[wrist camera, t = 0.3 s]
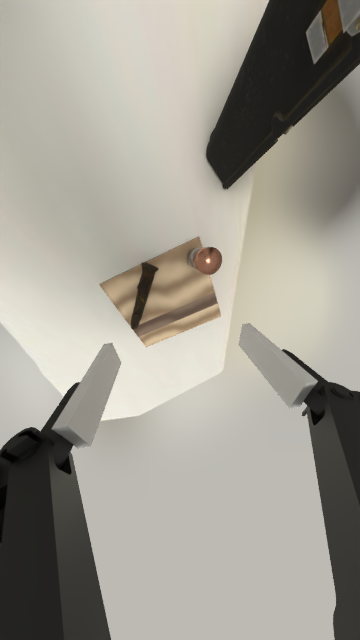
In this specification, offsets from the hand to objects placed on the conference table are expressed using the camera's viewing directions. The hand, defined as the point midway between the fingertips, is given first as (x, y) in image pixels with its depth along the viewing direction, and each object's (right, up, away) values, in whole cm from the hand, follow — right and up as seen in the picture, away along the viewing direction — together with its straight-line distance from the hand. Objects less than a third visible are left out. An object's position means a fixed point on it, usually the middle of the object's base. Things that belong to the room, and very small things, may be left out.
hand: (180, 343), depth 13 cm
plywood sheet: (-4, +8, +25) cm, 26 cm away
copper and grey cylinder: (+4, +19, +20) cm, 27 cm away
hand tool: (-10, +9, +23) cm, 27 cm away
